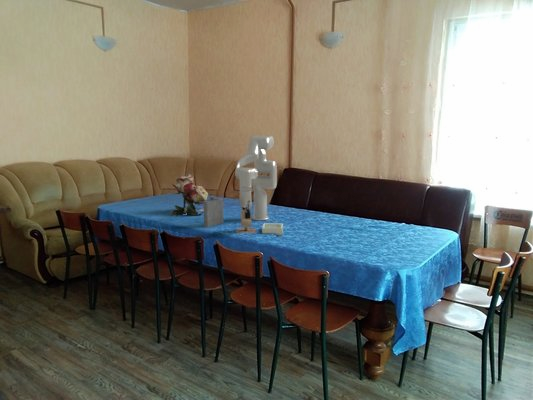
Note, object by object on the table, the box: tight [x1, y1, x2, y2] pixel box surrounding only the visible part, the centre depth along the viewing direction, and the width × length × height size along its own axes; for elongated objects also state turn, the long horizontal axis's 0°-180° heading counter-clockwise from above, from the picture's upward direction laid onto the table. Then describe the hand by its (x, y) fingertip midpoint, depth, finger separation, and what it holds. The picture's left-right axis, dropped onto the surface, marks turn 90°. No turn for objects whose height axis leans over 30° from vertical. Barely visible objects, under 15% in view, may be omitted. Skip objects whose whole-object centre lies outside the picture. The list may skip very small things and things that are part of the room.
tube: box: [240, 209, 252, 228], centre depth 275 cm, size 5×5×10 cm
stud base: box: [234, 227, 257, 234], centre depth 276 cm, size 12×12×10 cm
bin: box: [261, 222, 284, 237], centre depth 275 cm, size 12×12×5 cm
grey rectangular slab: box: [203, 195, 224, 228], centre depth 296 cm, size 16×4×20 cm, turn 136°
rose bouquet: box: [170, 173, 209, 216], centre depth 337 cm, size 26×29×30 cm
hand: (246, 217), depth 275 cm, fingers closed on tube, 5 cm apart
